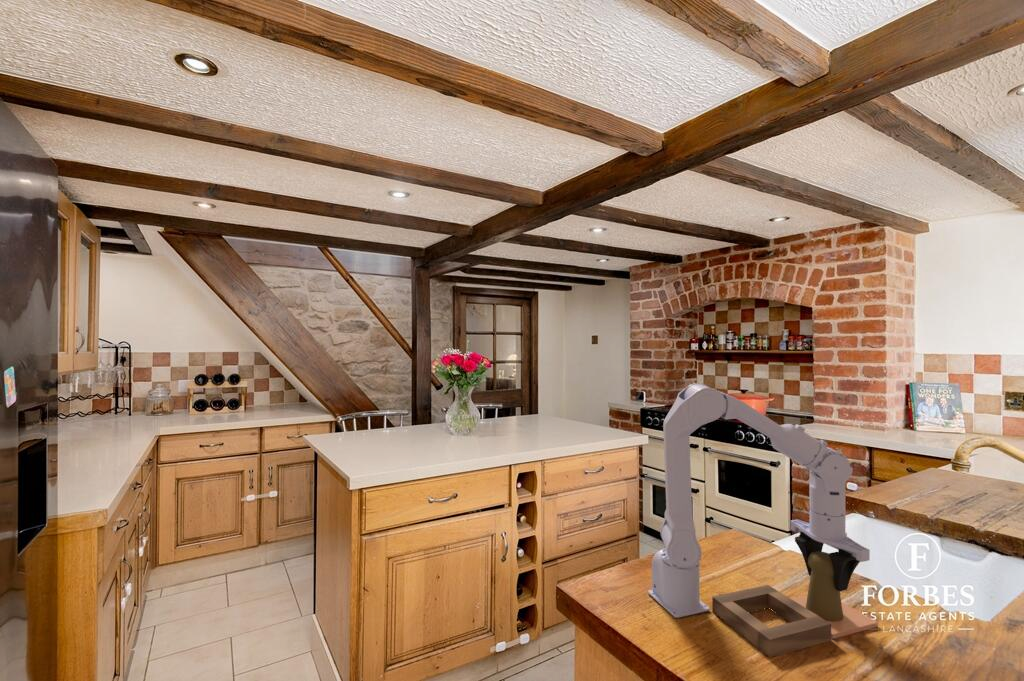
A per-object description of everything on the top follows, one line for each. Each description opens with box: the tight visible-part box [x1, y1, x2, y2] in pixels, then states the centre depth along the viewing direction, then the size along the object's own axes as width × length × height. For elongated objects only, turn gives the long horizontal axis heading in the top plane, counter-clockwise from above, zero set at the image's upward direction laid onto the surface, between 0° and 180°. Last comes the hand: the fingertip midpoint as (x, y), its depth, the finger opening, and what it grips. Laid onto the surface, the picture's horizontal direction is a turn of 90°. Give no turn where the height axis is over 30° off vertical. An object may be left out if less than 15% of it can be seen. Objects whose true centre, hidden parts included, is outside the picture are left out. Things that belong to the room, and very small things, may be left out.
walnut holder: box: [711, 584, 832, 658], centre depth 88 cm, size 14×14×3 cm
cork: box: [806, 551, 843, 622], centre depth 90 cm, size 6×6×11 cm
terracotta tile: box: [790, 594, 879, 640], centre depth 91 cm, size 11×11×1 cm
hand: (827, 582), depth 90 cm, fingers closed on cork, 5 cm apart
